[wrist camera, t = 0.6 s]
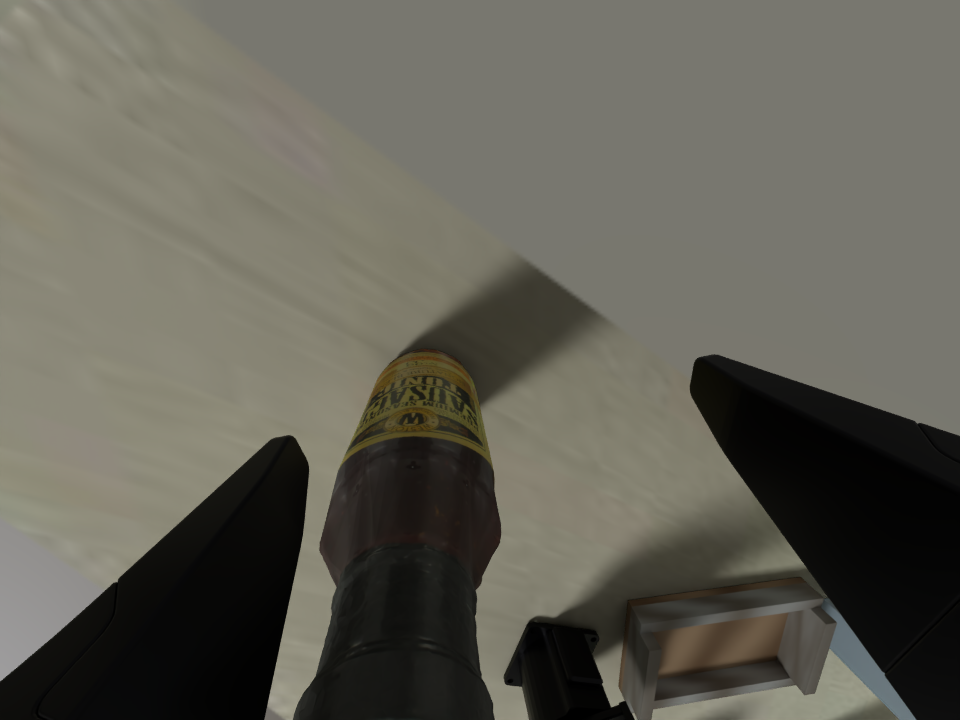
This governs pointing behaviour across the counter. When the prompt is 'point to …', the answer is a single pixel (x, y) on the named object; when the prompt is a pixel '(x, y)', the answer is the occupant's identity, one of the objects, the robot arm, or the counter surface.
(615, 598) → the counter surface
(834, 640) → the blue-grey rectangular block
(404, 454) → the sauce bottle
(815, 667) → the shallow grey tray
